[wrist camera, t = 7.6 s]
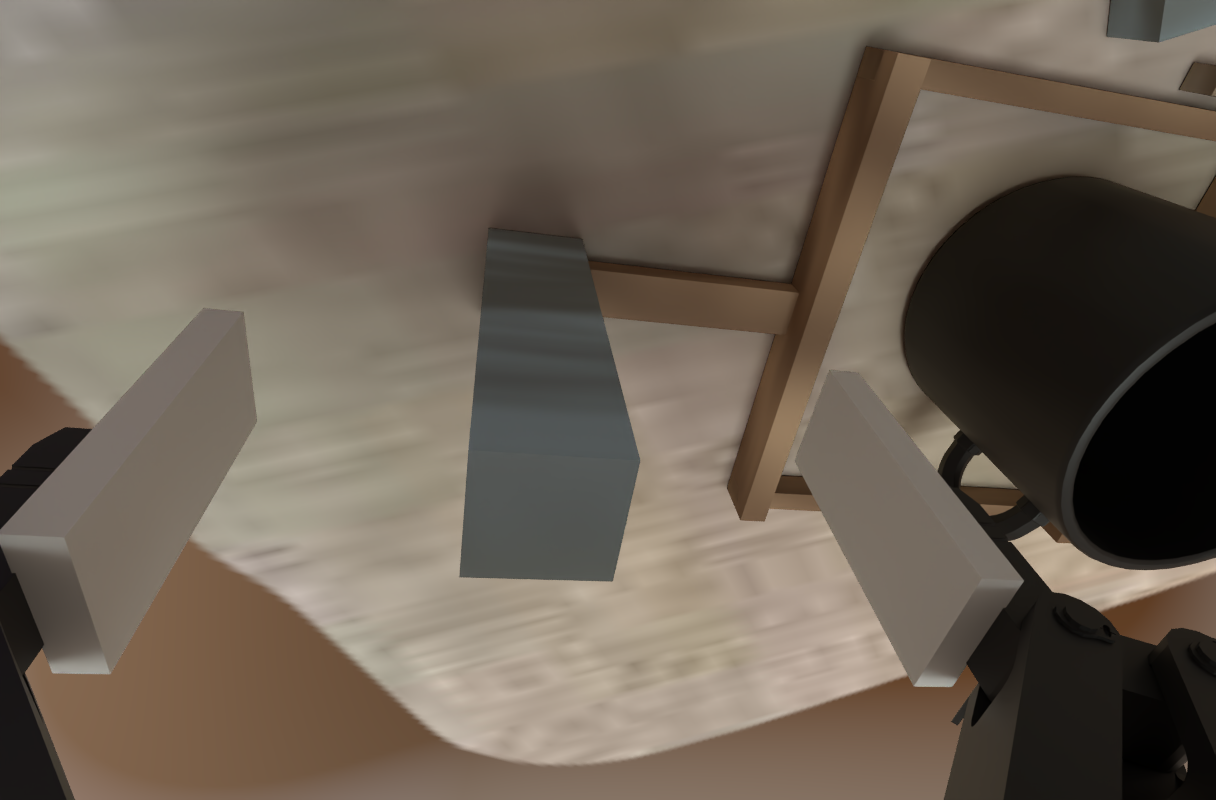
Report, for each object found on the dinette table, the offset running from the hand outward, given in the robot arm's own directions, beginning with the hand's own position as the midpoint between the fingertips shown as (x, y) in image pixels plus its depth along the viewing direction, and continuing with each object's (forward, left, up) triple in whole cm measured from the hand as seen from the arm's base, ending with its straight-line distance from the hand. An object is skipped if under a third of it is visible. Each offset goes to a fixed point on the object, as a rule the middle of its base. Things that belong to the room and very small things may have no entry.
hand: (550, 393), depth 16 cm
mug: (0, +17, -8) cm, 19 cm away
